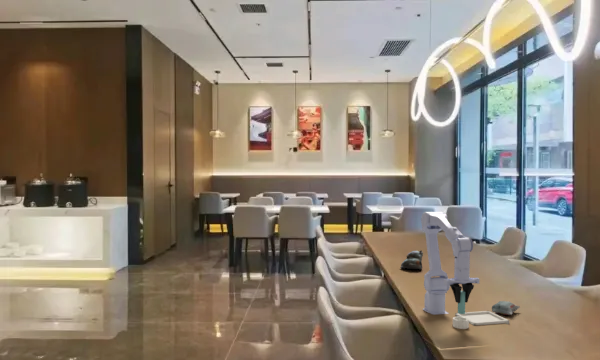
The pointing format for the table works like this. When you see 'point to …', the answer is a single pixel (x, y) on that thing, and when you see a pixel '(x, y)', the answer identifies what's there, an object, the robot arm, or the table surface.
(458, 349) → the table surface
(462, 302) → the dowel
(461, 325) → the bowl
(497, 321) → the tray
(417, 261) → the grey stacked sacks
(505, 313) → the packaged food
